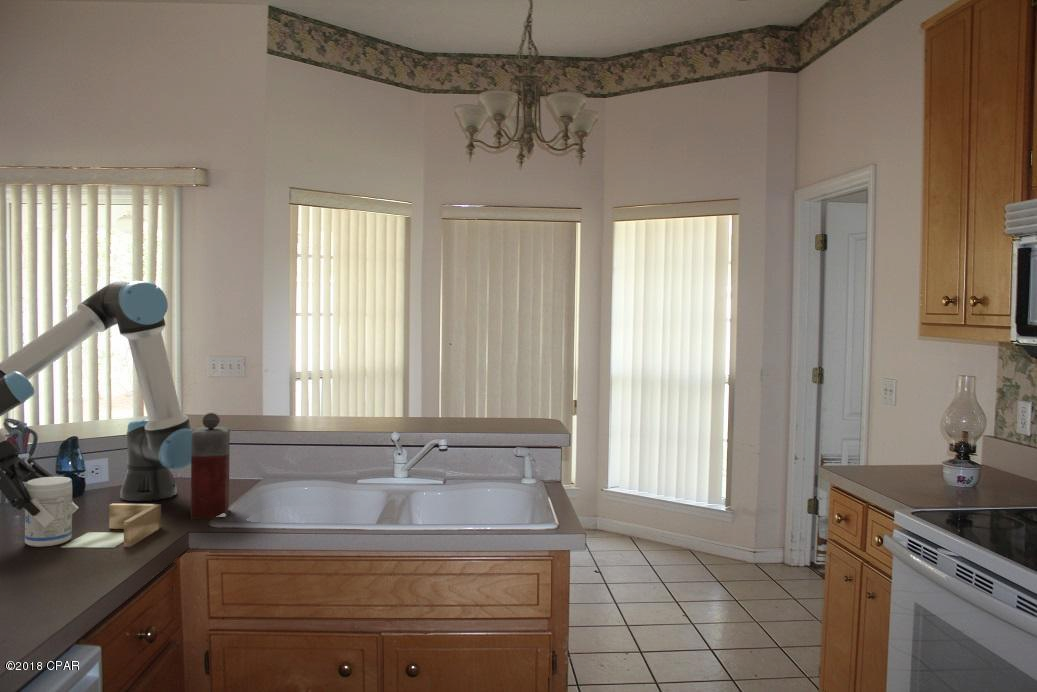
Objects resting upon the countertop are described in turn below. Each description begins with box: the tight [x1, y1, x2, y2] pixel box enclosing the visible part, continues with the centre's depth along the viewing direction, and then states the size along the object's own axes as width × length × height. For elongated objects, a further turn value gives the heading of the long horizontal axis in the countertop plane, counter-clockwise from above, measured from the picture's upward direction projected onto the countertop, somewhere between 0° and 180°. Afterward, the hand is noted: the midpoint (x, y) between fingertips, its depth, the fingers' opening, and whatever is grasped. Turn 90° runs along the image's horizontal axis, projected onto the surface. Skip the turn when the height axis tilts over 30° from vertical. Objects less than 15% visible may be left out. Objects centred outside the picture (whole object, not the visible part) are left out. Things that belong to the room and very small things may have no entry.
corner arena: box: [60, 503, 162, 549], centre depth 184 cm, size 15×18×6 cm
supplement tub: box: [24, 476, 73, 548], centre depth 179 cm, size 10×10×15 cm
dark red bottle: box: [190, 411, 231, 520], centre depth 208 cm, size 9×11×28 cm
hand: (62, 517), depth 179 cm, fingers closed on supplement tub, 9 cm apart
